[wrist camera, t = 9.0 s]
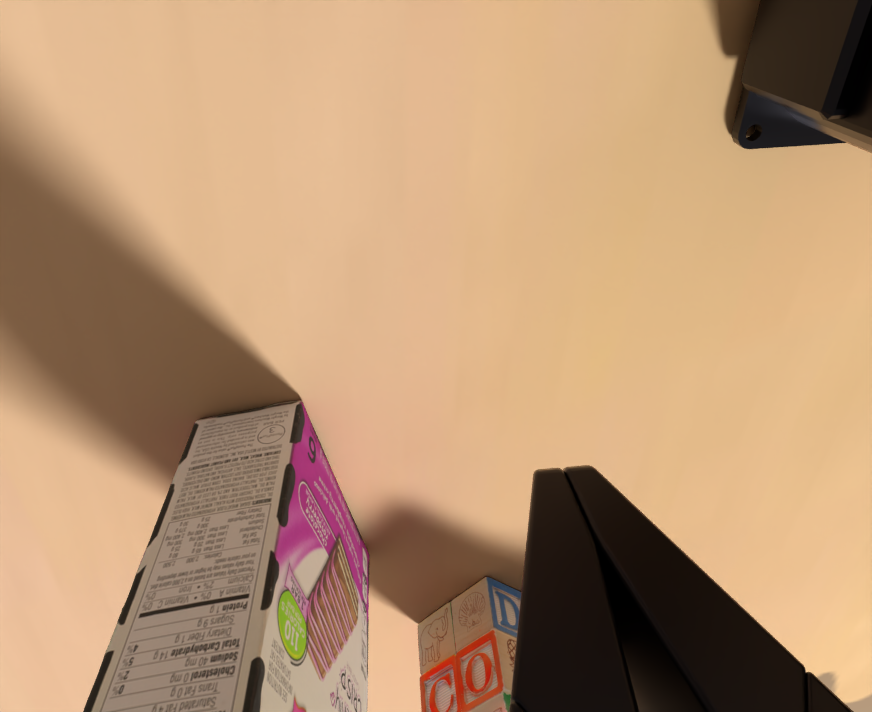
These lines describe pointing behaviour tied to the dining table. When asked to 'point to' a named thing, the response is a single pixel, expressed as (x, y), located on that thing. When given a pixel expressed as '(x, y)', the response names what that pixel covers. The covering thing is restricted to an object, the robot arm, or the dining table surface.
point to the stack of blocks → (470, 650)
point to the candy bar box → (245, 581)
